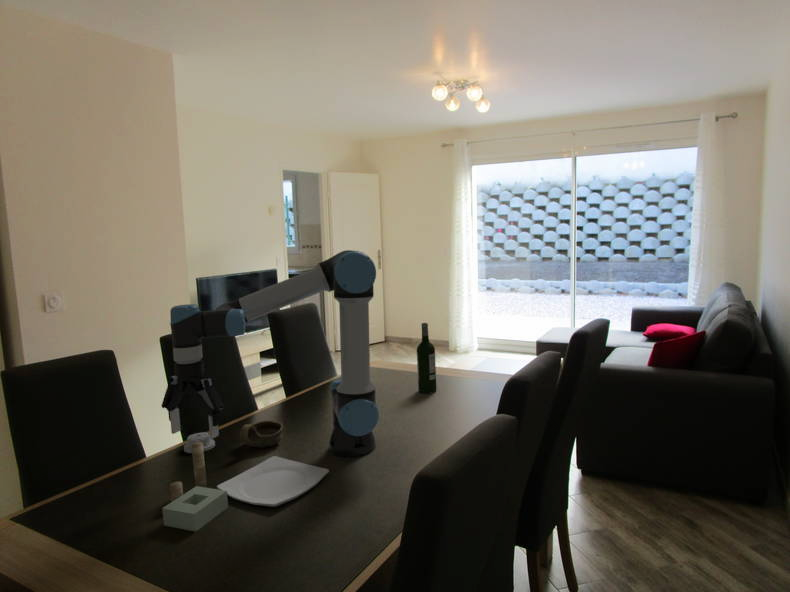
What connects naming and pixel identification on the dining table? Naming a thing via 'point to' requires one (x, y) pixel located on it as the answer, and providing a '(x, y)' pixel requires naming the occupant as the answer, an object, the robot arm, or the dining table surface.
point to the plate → (273, 482)
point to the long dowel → (199, 464)
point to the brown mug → (262, 433)
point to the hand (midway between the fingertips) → (195, 434)
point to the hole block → (195, 508)
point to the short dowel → (176, 490)
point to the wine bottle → (426, 363)
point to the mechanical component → (199, 437)
